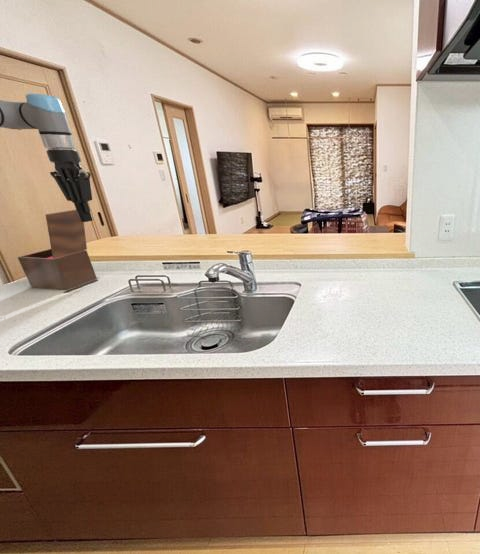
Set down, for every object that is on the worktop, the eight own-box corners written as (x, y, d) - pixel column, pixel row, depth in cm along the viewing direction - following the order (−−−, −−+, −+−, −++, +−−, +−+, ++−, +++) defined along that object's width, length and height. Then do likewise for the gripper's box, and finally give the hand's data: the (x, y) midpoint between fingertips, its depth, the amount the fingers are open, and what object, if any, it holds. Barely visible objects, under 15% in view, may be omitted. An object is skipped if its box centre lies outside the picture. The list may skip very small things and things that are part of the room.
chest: (32, 290, 113) (17, 257, 108) (64, 278, 124) (52, 248, 119) (68, 292, 112) (54, 259, 107) (97, 280, 122) (86, 250, 117)
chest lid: (45, 214, 100) (47, 215, 100) (80, 208, 111) (82, 209, 111) (52, 257, 106) (54, 258, 106) (85, 248, 117) (87, 249, 117)
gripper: (90, 150, 99) (113, 219, 108) (57, 149, 101) (82, 218, 110) (66, 149, 92) (93, 224, 101) (31, 149, 94) (60, 222, 103)
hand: (87, 221), depth 106 cm, fingers closed
